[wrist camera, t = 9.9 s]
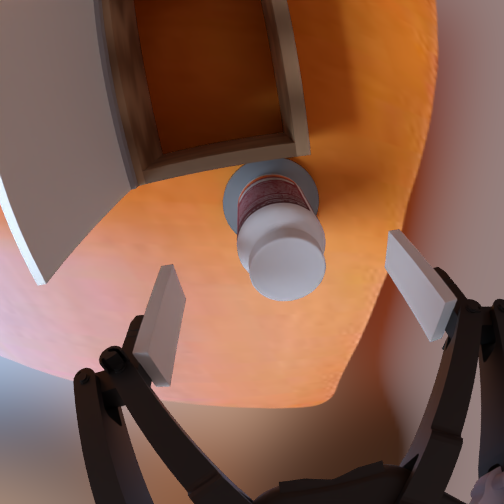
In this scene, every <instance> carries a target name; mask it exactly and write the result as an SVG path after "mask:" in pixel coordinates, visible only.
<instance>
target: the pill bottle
mask: <svg viewBox="0 0 504 504" xmlns="http://www.w3.org/2000/svg"><path fill="white" fill-rule="evenodd" d="M324 250H325V234H324V231H323V228H322V226H321V224H320V222H319V220H318V218H317V216H316V215H315V213H314V211H313V209H312V208H311V206H310V204H309V202H308V201H307V199H306V197H305V195H304V194H303V192H302V190H301V189H300V187H299V186H298V185H297V184H296V183H295V182H294V181H293V180H291V179H290V178H288V177H286V176H283V175H279V174H265V175H261V176H258V177H256V178H254V179H253V180H251V181H250V182H249V183H248V184H247V185H246V186H245V187H244V188H243V190H242V192H241V194H240V196H239V200H238V218H237V251H238V256H239V259H240V261H241V263H242V265H243V267H244V268H245V269H246V270H247V271H248V272H249V275H250V279H251V282H252V284H253V286H254V287H255V289H256V290H257V291H258V292H259V293H261V294H262V295H263V296H265V297H267V298H269V299H273V300H277V301H292V300H296V299H299V298H302V297H304V296H306V295H308V294H309V293H311V292H312V291H313V290H315V289H316V288H317V286H318V285H319V284H320V283H321V281H322V279H323V277H324V274H325V269H326V263H325V258H324V255H323V254H324Z"/></svg>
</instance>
